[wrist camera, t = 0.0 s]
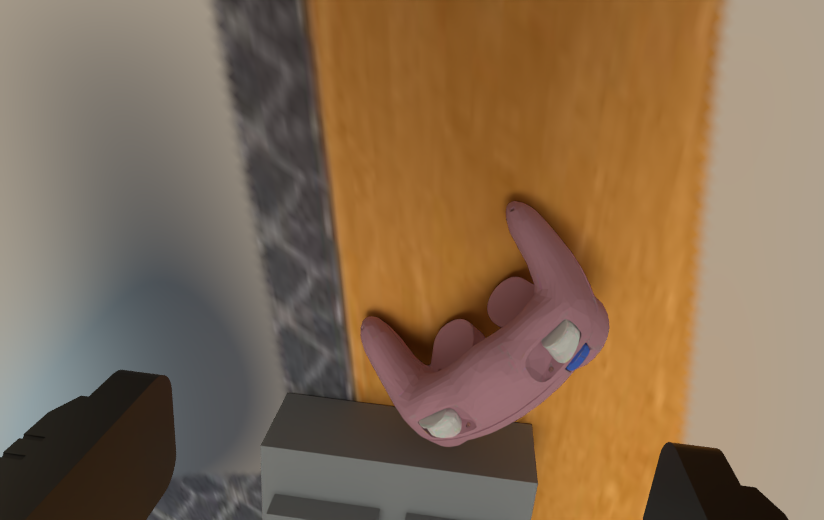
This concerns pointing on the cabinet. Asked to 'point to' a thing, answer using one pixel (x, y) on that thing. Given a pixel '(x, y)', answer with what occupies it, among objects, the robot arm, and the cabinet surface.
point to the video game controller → (497, 345)
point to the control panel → (388, 467)
